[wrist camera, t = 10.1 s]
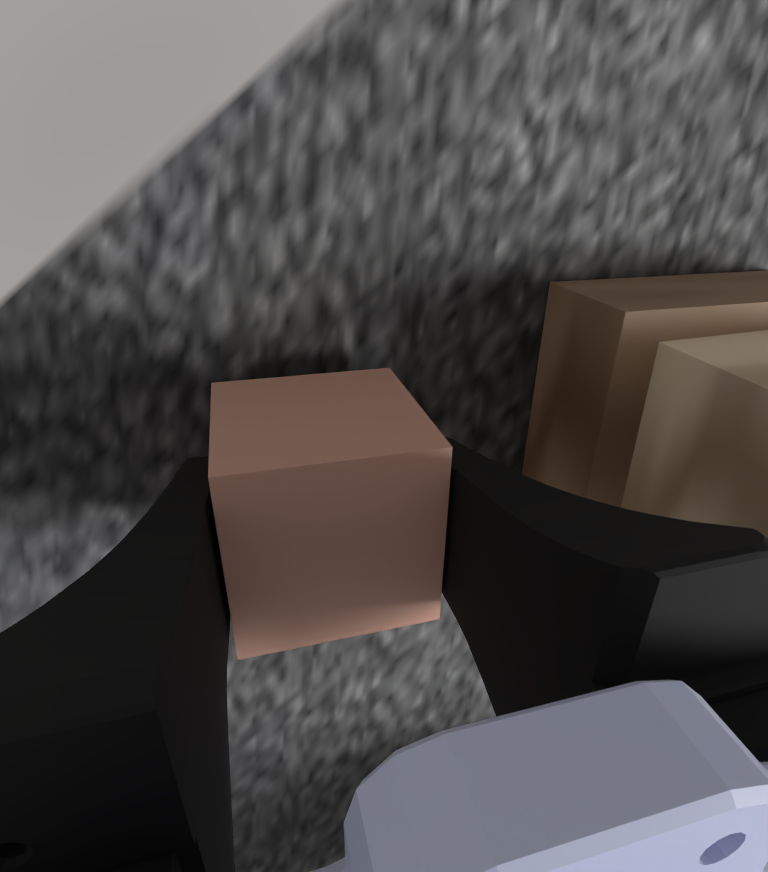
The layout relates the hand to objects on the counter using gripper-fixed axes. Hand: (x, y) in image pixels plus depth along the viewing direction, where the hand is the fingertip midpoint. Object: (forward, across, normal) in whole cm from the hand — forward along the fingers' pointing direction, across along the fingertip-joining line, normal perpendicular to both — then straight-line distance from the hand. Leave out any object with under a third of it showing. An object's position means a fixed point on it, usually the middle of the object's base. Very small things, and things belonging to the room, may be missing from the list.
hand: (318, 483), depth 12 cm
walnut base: (+2, -10, 0) cm, 10 cm away
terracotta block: (+1, 0, 0) cm, 1 cm away
